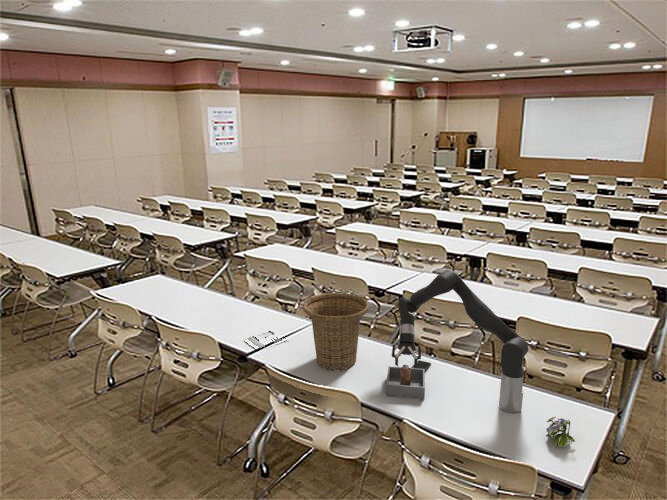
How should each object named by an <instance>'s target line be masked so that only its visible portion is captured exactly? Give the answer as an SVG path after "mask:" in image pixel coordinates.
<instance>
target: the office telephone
mask: <svg viewBox="0 0 667 500" xmlns="http://www.w3.org/2000/svg"><path fill="white" fill-rule="evenodd" d="M283 337H284V336H283ZM276 338H277V339H278V337H276ZM246 339H248V340H249V341H251V342H252V343H253V344H254V345H256V346H258V347H259V348H262V347H265V345H264V344H262V343H260V342H259V341H257V340H258V339H257V340H256V338H255V339H254V337H253V336H250V337H247V338H246ZM273 339H274V338H273ZM277 339H274V340H275V341H273V340H272V339H271V340H272V341H273V342H274V343H277V342H279V341H282V340H281V339H278V340H277ZM282 339H284V338H282ZM285 339H286V337H285ZM286 341H287V340H286ZM287 342H288V341H287ZM270 343H271V342H270Z"/></svg>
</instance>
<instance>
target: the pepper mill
mask: <svg viewBox="0 0 667 500" xmlns="http://www.w3.org/2000/svg"><path fill="white" fill-rule="evenodd" d="M400 367H401V366H400ZM410 368H411V367H410V366H409V365H408V364H403V365H402V367H401V368H400V385H406V386H410V382H411V369H410Z"/></svg>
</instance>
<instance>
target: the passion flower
mask: <svg viewBox="0 0 667 500" xmlns="http://www.w3.org/2000/svg"><path fill="white" fill-rule="evenodd" d="M554 419H556V416H553V417H550V418H549V419H548V420H546V423H550V422H551V423H550V424H549V425H548V427H546V432H547V433H546V434H545V437H550V436H551V439H552V446H553V447H554V448H556V446H557V445H558V446H557V448H558V449H559V448H562V447H566V446H567V445H568V443H569V445H570V444H572V443H575V442H576V440H575V437H573V436H572V435H570V427H571V421H570V419H568V420H567V419H564V418H557V420H554ZM567 429H568V431H567ZM560 432H561V433H560Z"/></svg>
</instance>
